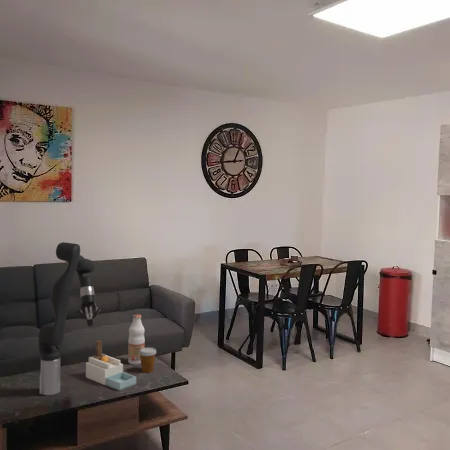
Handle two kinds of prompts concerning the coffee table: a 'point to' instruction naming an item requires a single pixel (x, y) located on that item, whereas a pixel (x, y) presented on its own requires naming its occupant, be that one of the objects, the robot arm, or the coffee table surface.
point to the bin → (121, 381)
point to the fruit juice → (136, 340)
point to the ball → (104, 359)
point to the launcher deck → (102, 369)
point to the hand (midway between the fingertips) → (90, 326)
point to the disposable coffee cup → (147, 359)
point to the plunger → (98, 350)
